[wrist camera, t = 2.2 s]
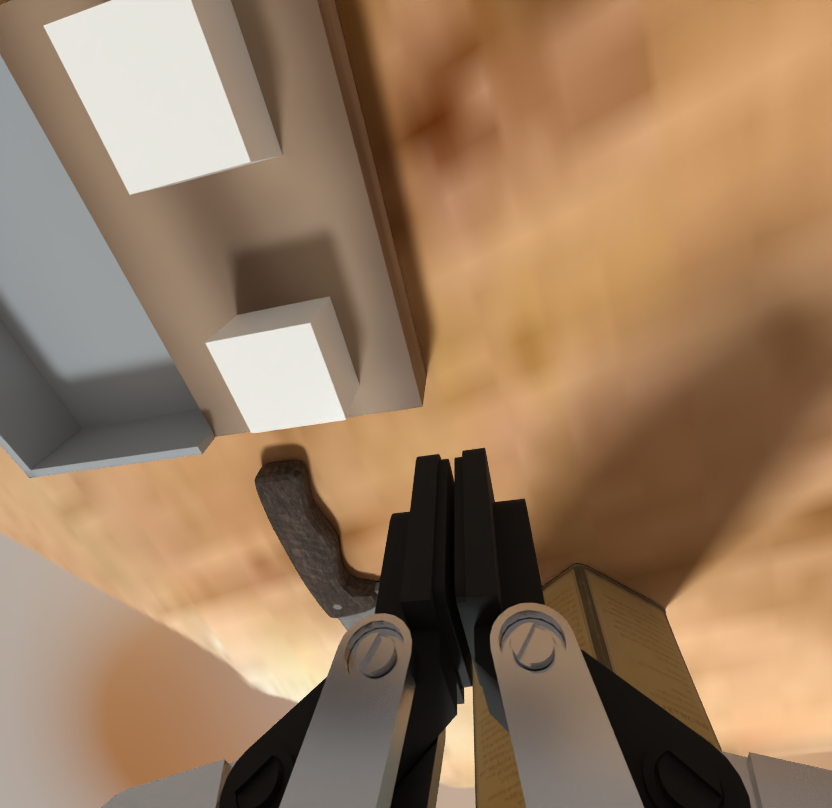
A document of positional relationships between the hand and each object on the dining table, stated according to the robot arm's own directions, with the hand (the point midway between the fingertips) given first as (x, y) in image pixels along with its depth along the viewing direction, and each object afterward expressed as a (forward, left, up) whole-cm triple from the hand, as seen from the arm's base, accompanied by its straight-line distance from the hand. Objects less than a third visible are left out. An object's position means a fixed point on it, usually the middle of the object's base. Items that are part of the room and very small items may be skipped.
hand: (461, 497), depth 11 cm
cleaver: (+10, +22, -14) cm, 28 cm away
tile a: (+8, 0, -10) cm, 13 cm away
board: (+8, -5, -13) cm, 17 cm away
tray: (+20, -5, -13) cm, 24 cm away
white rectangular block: (+8, -10, -10) cm, 17 cm away
